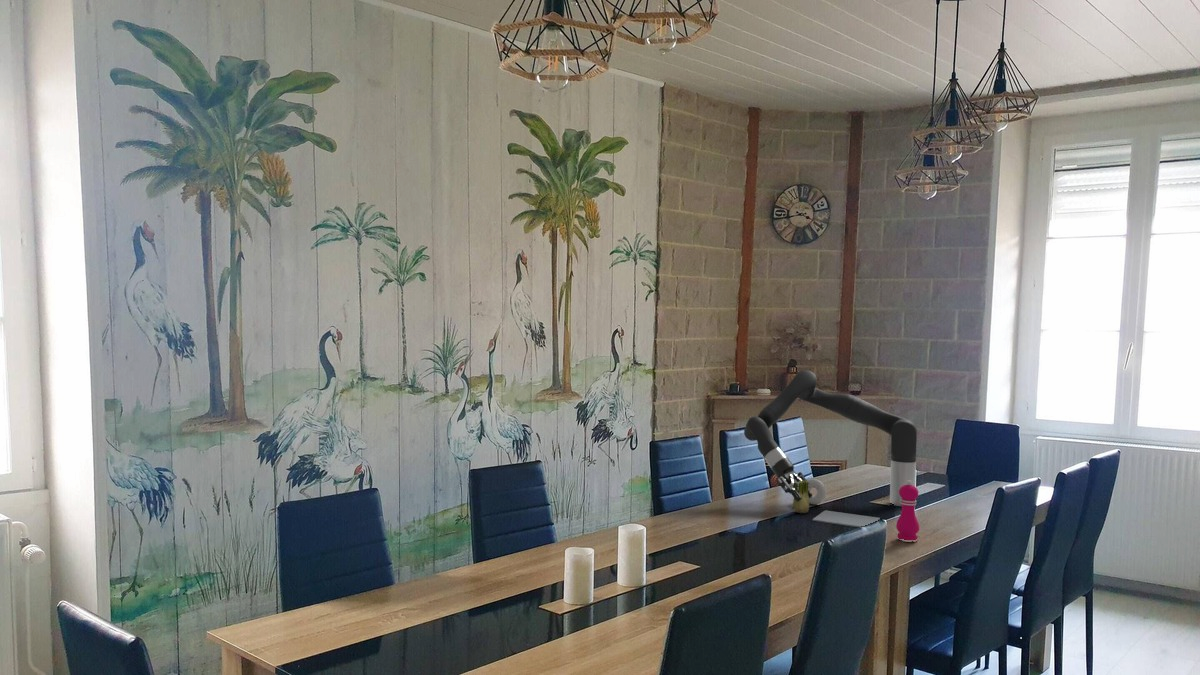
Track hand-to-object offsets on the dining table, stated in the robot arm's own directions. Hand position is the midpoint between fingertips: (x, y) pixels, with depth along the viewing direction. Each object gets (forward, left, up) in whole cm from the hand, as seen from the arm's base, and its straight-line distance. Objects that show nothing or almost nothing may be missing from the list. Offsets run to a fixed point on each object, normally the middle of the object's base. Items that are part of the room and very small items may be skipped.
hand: (805, 498), depth 312 cm
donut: (-16, -2, -6) cm, 17 cm away
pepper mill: (+16, +39, -6) cm, 43 cm away
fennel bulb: (0, -2, -6) cm, 6 cm away
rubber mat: (+1, +15, -6) cm, 16 cm away
